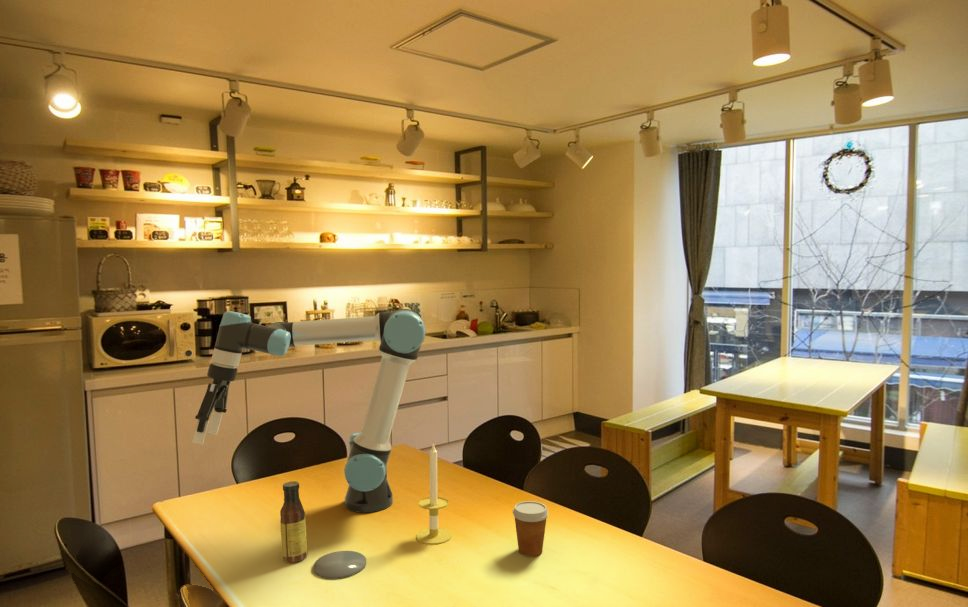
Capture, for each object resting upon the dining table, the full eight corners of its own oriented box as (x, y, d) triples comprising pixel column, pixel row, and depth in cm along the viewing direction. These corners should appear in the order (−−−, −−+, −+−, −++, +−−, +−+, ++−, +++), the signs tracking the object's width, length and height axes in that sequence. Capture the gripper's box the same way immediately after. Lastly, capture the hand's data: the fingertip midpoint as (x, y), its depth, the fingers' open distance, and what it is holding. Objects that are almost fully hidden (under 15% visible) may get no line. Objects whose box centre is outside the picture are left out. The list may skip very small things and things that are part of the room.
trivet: (353, 549, 163) (353, 546, 163) (374, 568, 152) (374, 565, 152) (306, 563, 155) (305, 560, 155) (325, 584, 145) (325, 581, 145)
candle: (458, 533, 172) (457, 440, 171) (439, 547, 164) (438, 449, 162) (428, 526, 177) (428, 435, 176) (409, 539, 168) (408, 444, 167)
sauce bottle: (312, 554, 160) (310, 481, 159) (297, 565, 154) (295, 489, 153) (291, 551, 162) (289, 478, 161) (276, 561, 156) (274, 486, 155)
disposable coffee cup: (524, 562, 155) (524, 517, 154) (506, 547, 164) (506, 504, 163) (555, 554, 159) (555, 510, 159) (535, 540, 168) (536, 498, 167)
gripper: (222, 359, 184) (204, 427, 183) (197, 365, 160) (176, 444, 158) (247, 364, 185) (230, 432, 184) (226, 372, 161) (205, 450, 159)
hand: (205, 438), depth 171 cm, fingers open, 13 cm apart
